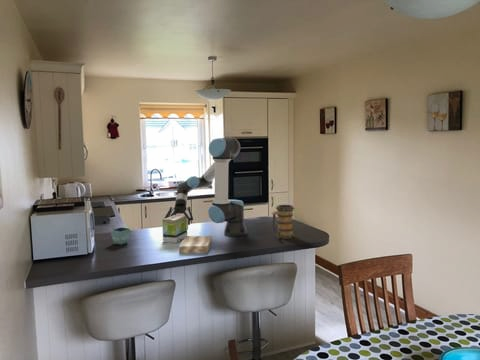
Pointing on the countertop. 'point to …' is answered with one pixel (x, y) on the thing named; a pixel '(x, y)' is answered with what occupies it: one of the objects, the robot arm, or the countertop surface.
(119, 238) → the flower pot
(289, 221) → the mug
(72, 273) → the countertop surface
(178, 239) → the tea box
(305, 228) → the countertop surface
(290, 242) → the countertop surface
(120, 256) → the countertop surface
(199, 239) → the birch stand
